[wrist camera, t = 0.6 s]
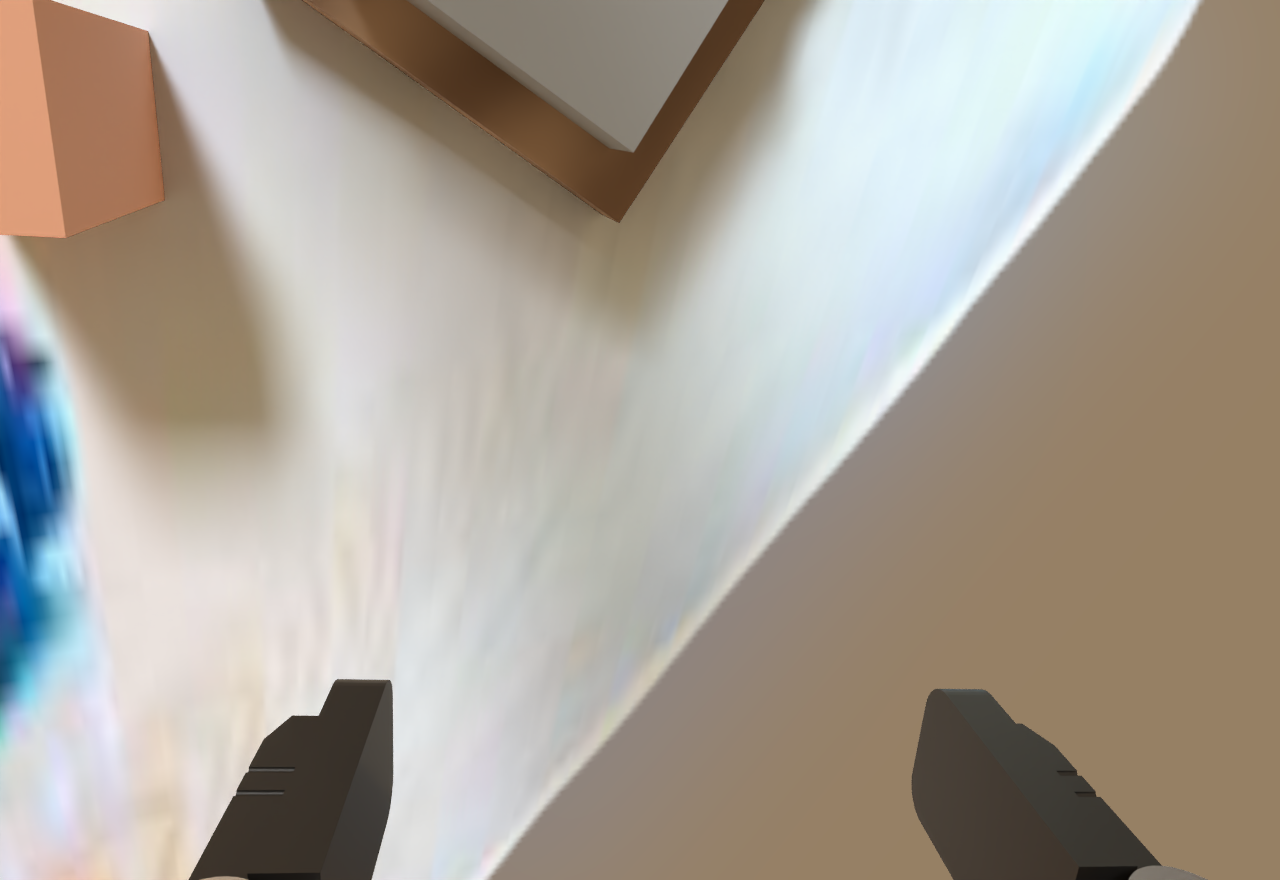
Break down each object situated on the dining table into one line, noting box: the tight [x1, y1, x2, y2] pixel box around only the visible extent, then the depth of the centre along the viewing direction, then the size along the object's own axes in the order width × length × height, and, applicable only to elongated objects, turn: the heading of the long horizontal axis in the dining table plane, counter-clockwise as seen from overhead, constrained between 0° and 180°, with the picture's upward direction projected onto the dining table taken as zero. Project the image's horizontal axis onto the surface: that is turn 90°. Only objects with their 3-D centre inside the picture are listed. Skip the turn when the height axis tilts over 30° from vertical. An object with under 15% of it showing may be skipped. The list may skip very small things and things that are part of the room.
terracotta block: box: [0, 0, 165, 238], centre depth 24 cm, size 6×6×10 cm
